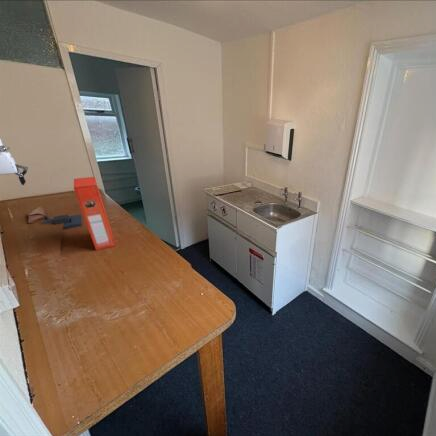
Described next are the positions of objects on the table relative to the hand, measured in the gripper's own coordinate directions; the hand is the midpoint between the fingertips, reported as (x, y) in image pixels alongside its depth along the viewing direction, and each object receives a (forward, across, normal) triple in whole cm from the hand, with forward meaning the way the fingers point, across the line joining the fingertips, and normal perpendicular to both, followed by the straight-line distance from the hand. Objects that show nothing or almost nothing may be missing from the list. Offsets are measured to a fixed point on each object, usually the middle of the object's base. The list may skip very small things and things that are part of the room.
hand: (9, 185), depth 115 cm
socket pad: (+26, -13, -4) cm, 30 cm away
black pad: (+26, -13, -4) cm, 29 cm away
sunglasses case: (+26, -1, -23) cm, 35 cm away
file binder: (+26, -30, +32) cm, 51 cm away
